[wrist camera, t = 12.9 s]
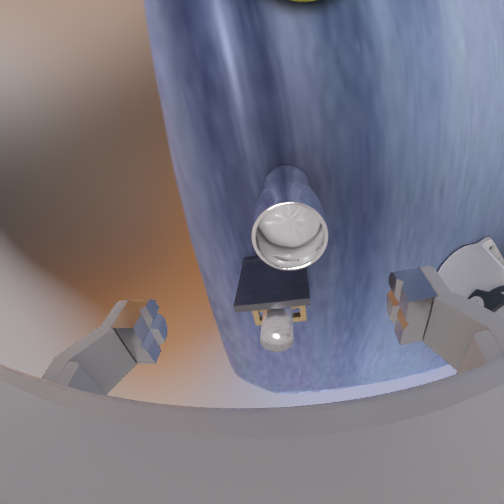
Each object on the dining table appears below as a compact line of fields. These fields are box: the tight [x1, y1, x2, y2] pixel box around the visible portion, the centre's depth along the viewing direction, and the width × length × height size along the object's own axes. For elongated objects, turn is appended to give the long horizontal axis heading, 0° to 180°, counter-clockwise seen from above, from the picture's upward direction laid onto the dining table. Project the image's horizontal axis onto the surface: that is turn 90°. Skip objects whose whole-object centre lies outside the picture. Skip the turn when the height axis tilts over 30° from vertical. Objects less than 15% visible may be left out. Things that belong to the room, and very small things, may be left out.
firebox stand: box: [234, 256, 310, 325], centre depth 39 cm, size 9×9×11 cm
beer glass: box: [252, 165, 328, 270], centre depth 30 cm, size 7×7×15 cm
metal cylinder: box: [260, 307, 293, 352], centre depth 38 cm, size 4×4×12 cm
